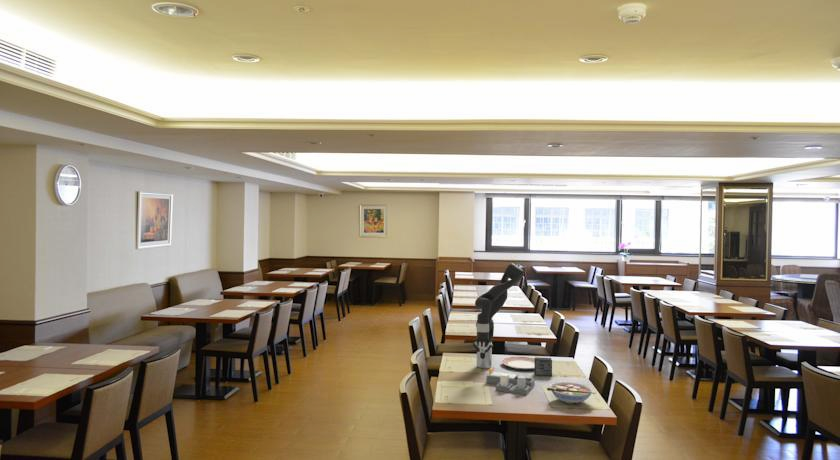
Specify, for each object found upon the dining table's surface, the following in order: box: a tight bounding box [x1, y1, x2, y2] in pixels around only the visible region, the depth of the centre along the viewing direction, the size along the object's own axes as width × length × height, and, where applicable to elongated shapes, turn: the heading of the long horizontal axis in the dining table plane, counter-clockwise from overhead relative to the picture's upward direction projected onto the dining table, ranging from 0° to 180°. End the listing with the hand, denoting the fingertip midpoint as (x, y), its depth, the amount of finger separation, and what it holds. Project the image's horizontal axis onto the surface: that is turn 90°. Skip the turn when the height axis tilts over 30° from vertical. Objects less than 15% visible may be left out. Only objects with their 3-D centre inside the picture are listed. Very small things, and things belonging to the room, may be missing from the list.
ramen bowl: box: [546, 381, 597, 404], centre depth 293 cm, size 25×23×8 cm
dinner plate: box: [501, 355, 535, 371], centre depth 364 cm, size 28×27×3 cm
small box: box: [533, 356, 553, 377], centre depth 344 cm, size 11×6×10 cm, turn 84°
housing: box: [485, 375, 535, 396], centre depth 318 cm, size 27×20×8 cm
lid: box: [486, 366, 518, 379], centre depth 325 cm, size 16×8×4 cm, turn 66°
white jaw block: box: [500, 372, 509, 387], centre depth 313 cm, size 4×4×7 cm
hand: (482, 358), depth 330 cm, fingers closed
